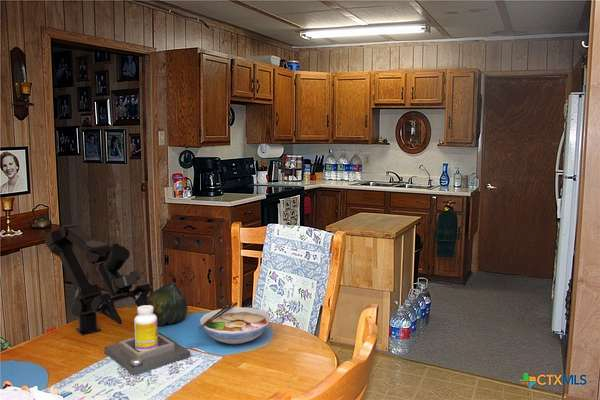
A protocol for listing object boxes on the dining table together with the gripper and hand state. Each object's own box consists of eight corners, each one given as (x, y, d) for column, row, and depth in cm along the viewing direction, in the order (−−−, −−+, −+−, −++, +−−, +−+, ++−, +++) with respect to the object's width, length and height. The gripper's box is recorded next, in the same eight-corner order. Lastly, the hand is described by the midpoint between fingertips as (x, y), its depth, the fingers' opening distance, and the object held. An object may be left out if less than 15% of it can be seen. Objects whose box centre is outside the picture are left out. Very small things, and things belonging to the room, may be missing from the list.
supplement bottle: (159, 350, 159) (158, 309, 157) (136, 354, 156) (135, 312, 155) (156, 342, 165) (154, 302, 164) (134, 346, 163) (132, 305, 161)
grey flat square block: (105, 353, 162) (104, 340, 162) (159, 338, 174) (158, 326, 174) (133, 375, 148) (132, 361, 147) (190, 357, 159) (190, 344, 159)
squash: (129, 310, 185) (152, 281, 181) (156, 299, 199) (179, 272, 194) (154, 340, 182) (179, 313, 177) (180, 327, 196) (203, 301, 191)
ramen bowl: (251, 360, 157) (251, 334, 156) (184, 349, 165) (184, 324, 164) (282, 331, 181) (282, 308, 180) (223, 323, 188) (222, 300, 187)
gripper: (94, 270, 157) (117, 314, 152) (147, 258, 172) (170, 298, 166) (81, 290, 163) (103, 333, 158) (133, 277, 178) (155, 316, 172)
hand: (134, 319), depth 163 cm, fingers open, 9 cm apart
